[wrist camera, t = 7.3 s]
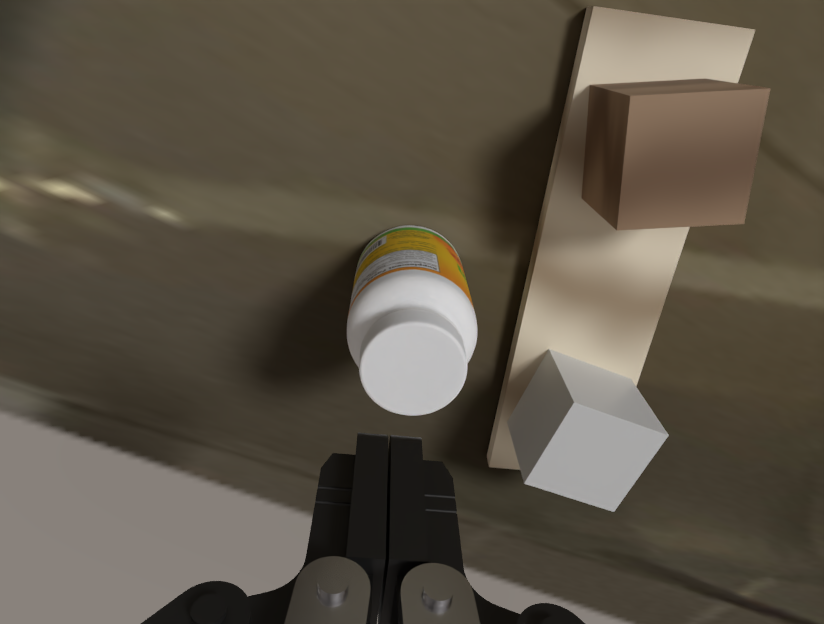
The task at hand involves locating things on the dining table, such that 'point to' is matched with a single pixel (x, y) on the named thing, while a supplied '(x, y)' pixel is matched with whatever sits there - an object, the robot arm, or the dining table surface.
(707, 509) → the dining table surface
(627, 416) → the grey block
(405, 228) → the supplement bottle
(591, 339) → the birch strip
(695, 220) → the walnut block
